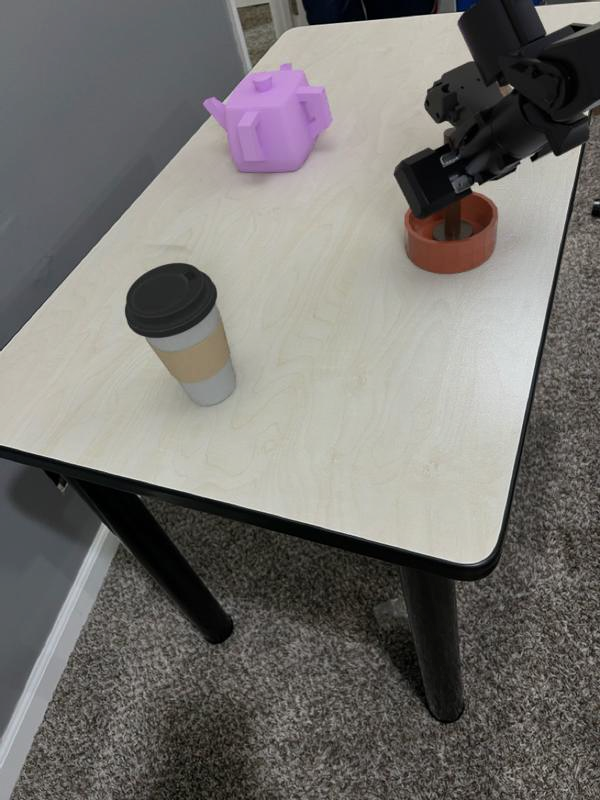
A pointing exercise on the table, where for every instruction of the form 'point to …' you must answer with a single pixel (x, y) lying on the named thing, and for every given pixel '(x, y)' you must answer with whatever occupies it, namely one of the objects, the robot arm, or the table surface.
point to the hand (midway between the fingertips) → (445, 184)
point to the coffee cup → (184, 329)
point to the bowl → (453, 253)
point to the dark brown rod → (452, 212)
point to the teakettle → (272, 120)
